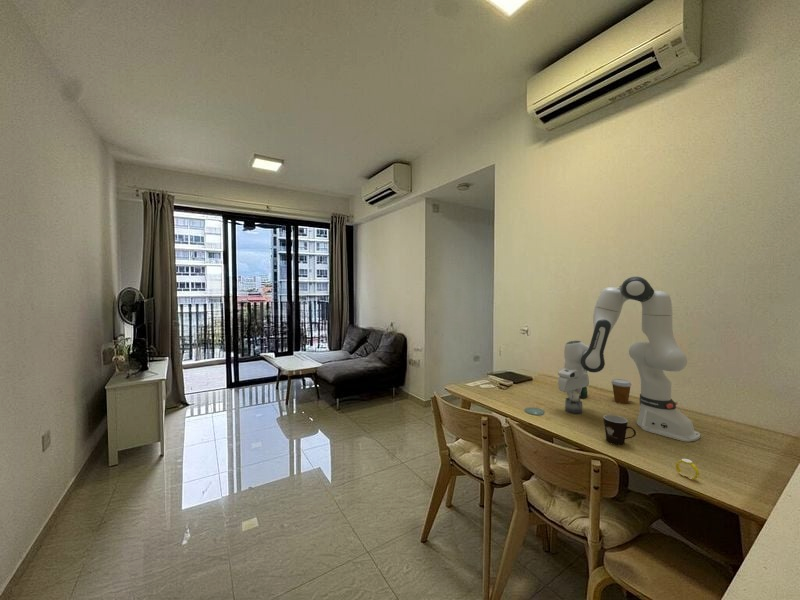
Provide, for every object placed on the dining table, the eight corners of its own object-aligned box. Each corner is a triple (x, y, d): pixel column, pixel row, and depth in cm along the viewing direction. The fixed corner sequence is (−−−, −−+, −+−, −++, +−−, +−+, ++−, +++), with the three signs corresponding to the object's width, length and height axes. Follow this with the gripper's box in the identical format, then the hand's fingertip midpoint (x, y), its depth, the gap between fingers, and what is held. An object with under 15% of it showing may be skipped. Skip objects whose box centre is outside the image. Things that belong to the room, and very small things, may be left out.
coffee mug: (599, 437, 140) (599, 414, 140) (618, 436, 140) (618, 414, 139) (616, 450, 128) (616, 426, 128) (637, 450, 128) (637, 426, 128)
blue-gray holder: (585, 412, 167) (585, 400, 167) (575, 415, 164) (575, 403, 163) (571, 407, 174) (571, 396, 174) (562, 410, 171) (561, 399, 171)
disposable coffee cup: (634, 402, 180) (634, 381, 180) (627, 406, 175) (627, 384, 174) (615, 397, 188) (615, 377, 188) (608, 401, 183) (608, 380, 182)
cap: (581, 400, 167) (581, 391, 167) (576, 402, 165) (576, 392, 165) (572, 397, 172) (572, 388, 172) (567, 399, 170) (567, 390, 170)
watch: (675, 474, 112) (673, 457, 112) (679, 472, 113) (678, 455, 113) (696, 482, 107) (694, 464, 107) (700, 480, 108) (699, 462, 108)
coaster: (548, 412, 168) (548, 412, 168) (535, 416, 163) (535, 415, 163) (533, 406, 177) (533, 406, 177) (520, 410, 172) (520, 409, 172)
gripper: (580, 367, 175) (581, 391, 176) (555, 372, 166) (556, 398, 167) (592, 369, 170) (592, 395, 170) (566, 375, 161) (567, 402, 161)
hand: (574, 397), depth 169 cm, fingers closed on cap, 4 cm apart
